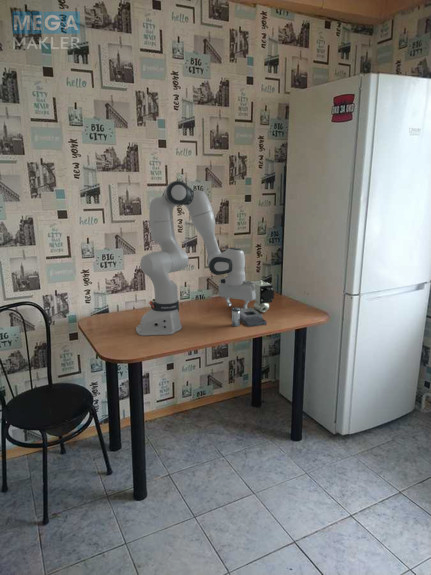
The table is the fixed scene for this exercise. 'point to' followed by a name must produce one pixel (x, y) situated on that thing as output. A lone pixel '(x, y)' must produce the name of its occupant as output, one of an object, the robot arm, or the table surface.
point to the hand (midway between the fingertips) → (237, 307)
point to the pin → (235, 316)
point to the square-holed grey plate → (251, 317)
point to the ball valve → (263, 295)
